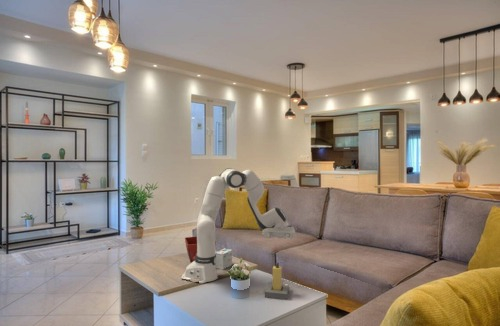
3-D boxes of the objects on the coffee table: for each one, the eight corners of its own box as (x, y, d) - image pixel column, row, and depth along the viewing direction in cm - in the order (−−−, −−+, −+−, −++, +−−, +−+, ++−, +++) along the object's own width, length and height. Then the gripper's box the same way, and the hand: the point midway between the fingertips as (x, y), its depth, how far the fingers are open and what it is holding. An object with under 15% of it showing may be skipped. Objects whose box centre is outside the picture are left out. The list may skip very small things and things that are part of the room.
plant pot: (184, 260, 227) (184, 237, 227) (211, 257, 233) (211, 234, 232) (187, 269, 209) (187, 244, 208) (216, 266, 215) (216, 242, 214)
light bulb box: (224, 263, 221) (224, 247, 221) (232, 264, 218) (232, 249, 217) (215, 268, 212) (215, 252, 212) (223, 270, 209) (223, 254, 208)
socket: (264, 297, 170) (264, 290, 170) (268, 287, 182) (268, 281, 182) (286, 299, 167) (287, 292, 167) (289, 289, 179) (289, 283, 179)
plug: (272, 293, 173) (272, 264, 173) (273, 290, 177) (273, 261, 176) (280, 294, 172) (280, 264, 172) (281, 291, 176) (281, 262, 175)
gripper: (264, 225, 202) (259, 230, 189) (296, 226, 198) (294, 232, 184) (264, 234, 203) (259, 240, 189) (296, 236, 198) (294, 243, 185)
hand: (277, 236), depth 187 cm, fingers open, 8 cm apart
